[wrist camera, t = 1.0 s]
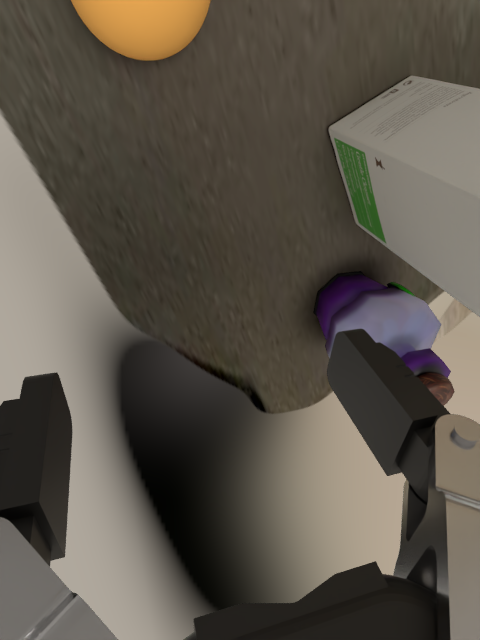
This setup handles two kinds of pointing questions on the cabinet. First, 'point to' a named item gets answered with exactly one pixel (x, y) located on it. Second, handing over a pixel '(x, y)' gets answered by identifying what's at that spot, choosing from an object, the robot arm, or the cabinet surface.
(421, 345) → the potion bottle
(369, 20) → the cabinet surface
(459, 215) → the skincare box
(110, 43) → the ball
